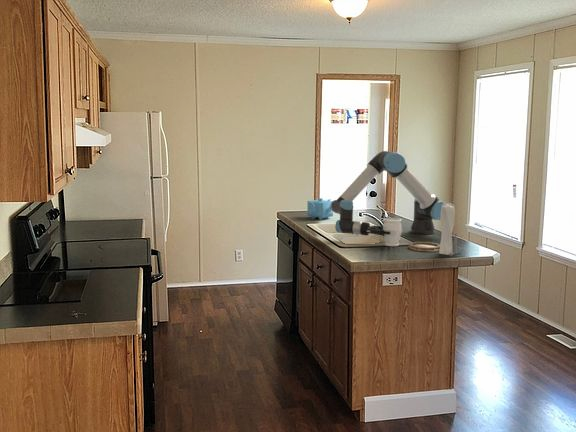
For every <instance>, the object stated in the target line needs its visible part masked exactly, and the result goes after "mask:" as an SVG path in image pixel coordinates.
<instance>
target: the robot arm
mask: <svg viewBox="0 0 576 432" xmlns="http://www.w3.org/2000/svg"><path fill="white" fill-rule="evenodd" d="M383 172H387V174H388V175H390V177H391V178H393V179H397V180H398V182H400V184H401V185H402V186H403V187H404V188H405V190H407V191H408V193H410V195H412V197H413V198H414V202H413V205H414V206H413V221H412V224H411V226H410V229H409V230H410V231H409V232H410V233H412V234H419V235H432V234H435V233H436V228H435V226H434V225H435V224H434V221H441V208H442V205H443V204H444V203H446V202H445V201H443V200H440V199H439V198H438V197H437V196H436V194H433V193H430V192H429V190H428V189H426V187H425V186H424V185H423V184H422V182H420V180H419V179H418V178H417V177H416V176H415V175H414V174H413V173H412V172H411V171H410V170H409V169H408V163H407V162H406V158H405V157H404V155H402V153H399V152H397V151H387V150H383V151H381V152H378V153H376V155H375V156H373V158H371V160H370V161H369V162H368V163H367V164H366V168H364V170H363V171H362V172H361V173H360V174H359V175H358V176H357V177H356V178H355V179H354V181H353V182H352V183H351V184H350V185H349V186H348V187H347V188H346V189H345V191H344V192H342V194H341V195H340V196H339V197H338V198H337V199H335V200H332V202H331V204H330V208H331V210H332V211H333V213H335V214H338V215H339V219H337V220H336V222H335V225H334V227H335V232H336V233H340V234H347V235H355V236H360V235H361V236H369V234H370V235H378V236H382V237H383V236H384V234H385V235H392V236H396V231H392V230H385V231H384V230H383V225H375V224H374V225H372V226H371V224H370V223H369V222H368V221H367V222H366V221H356V220H355V221H354V218H353V217H354V202H353V201H354V200H355V199H356V198H357V197H358V196H359V195H360V194H361V192H362V191H363V190H364V189H365V188H366V187H367V186H368V185H369V184H370V183H371V182H372V181H373V179H374V178H376V177H377V176H380V174H382V173H383ZM443 206H444V205H443ZM445 206H446V205H445ZM433 220H434V221H433ZM402 233H403V227H401V234H402Z"/></svg>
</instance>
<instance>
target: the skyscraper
mask: <svg viewBox="0 0 576 432" xmlns="http://www.w3.org/2000/svg"><path fill="white" fill-rule="evenodd" d="M443 205H444V206H443ZM443 205H442V208H441V220H439V221H440V232H441V236H440V243H439V245H440V250H439V251H438V254H439V255H445V256H454V255H456V254H458V253H457V248H458V247H457V245H458V244H457V242H458V238H457V233H455V234H454V238H452V237H453V234H452V233H453V229H454V227H455V225H454V224H455V219H456V218H455V217H456V209H455V207H456V206H455V205H454V204H453V203H451V202H445V203H444V204H443ZM445 205H446V206H445ZM453 240H454V241H453Z"/></svg>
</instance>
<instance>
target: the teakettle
mask: <svg viewBox="0 0 576 432" xmlns="http://www.w3.org/2000/svg"><path fill="white" fill-rule="evenodd" d="M332 201H333V200H332ZM332 201H331V198H330V199H326V200H324V199H323V197H321V198H318V199H313V200H307V208H306V209H307V210H306V211H307V213H306V214H307V217H310V219H311V220H315V219H316V218H317V217H318V220H319V221H323V220H324V219H325V220H329V219H330V217H333V216H334V214H333V213H334V212H333V211H332V210H331V208H330V204H331V202H332Z"/></svg>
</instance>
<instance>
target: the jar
mask: <svg viewBox="0 0 576 432" xmlns="http://www.w3.org/2000/svg"><path fill="white" fill-rule="evenodd" d="M382 221H383V225H382V226H383V230H384V231H385V230H392V231H396V236H392V235H385V234H384V236H382V237H383V240H384V243H383V245H384V246H387V247H398V246H400V243H399V241H400V240H401V236H402V233H401V228H402V223H401V222H402V221H403V220H402V219H401V218H398V217H385V218H383V220H382Z"/></svg>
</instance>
